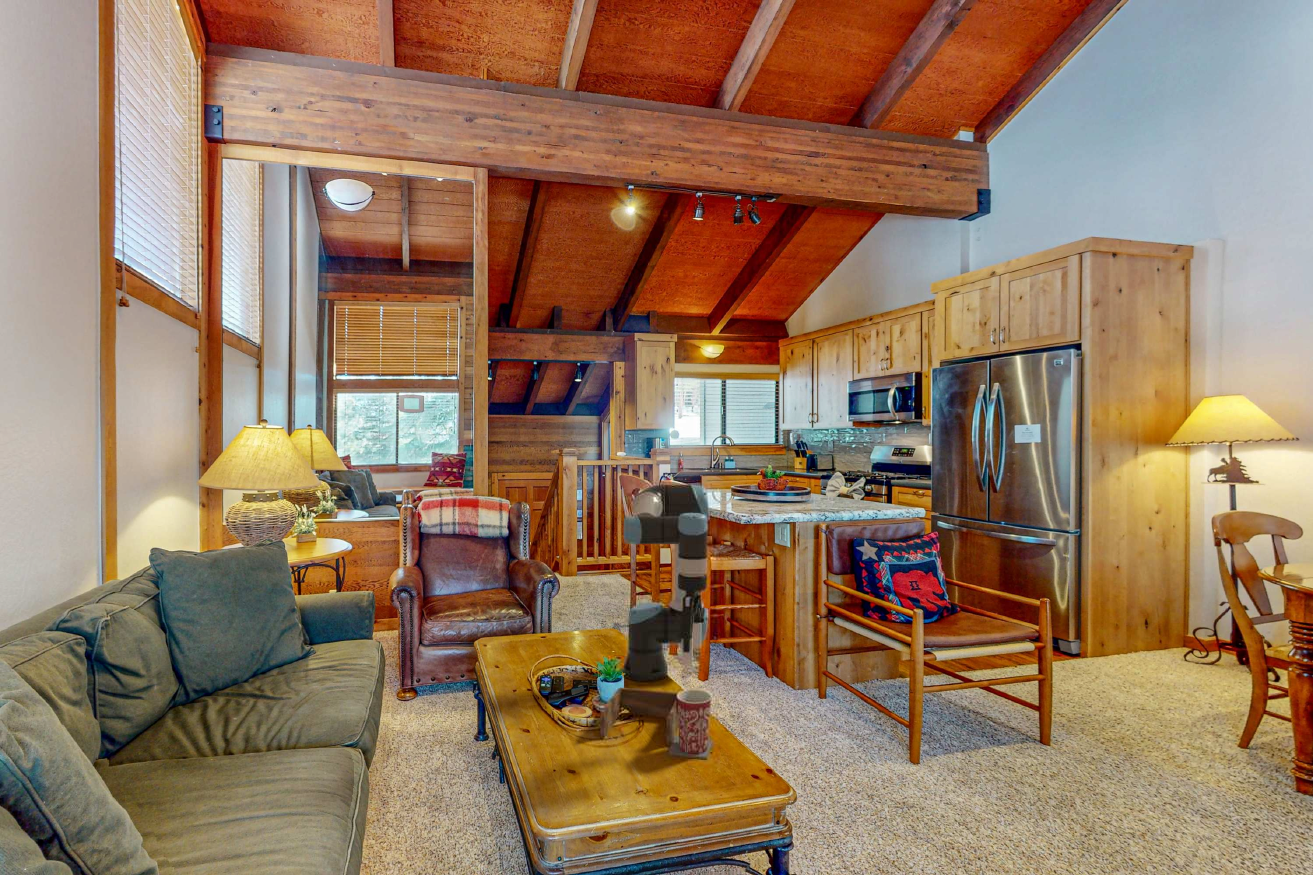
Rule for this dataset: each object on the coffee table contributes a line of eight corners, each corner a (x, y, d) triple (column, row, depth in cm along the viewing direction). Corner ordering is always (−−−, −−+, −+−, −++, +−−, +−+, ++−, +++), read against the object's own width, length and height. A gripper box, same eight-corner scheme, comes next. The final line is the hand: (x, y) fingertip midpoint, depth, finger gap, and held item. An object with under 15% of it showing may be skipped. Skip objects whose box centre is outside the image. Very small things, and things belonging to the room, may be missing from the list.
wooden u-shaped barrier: (619, 711, 200) (619, 687, 200) (682, 717, 196) (683, 693, 196) (600, 737, 183) (600, 711, 183) (670, 745, 178) (670, 718, 178)
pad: (675, 737, 183) (675, 735, 183) (712, 741, 181) (712, 739, 181) (668, 754, 173) (668, 752, 173) (707, 759, 171) (707, 756, 171)
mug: (718, 751, 174) (718, 698, 174) (686, 758, 170) (686, 704, 170) (694, 731, 185) (694, 682, 185) (664, 738, 181) (664, 687, 181)
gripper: (686, 563, 190) (686, 639, 190) (668, 583, 165) (667, 670, 166) (713, 564, 188) (712, 641, 188) (698, 585, 164) (698, 673, 164)
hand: (691, 655), depth 177 cm, fingers open, 13 cm apart
